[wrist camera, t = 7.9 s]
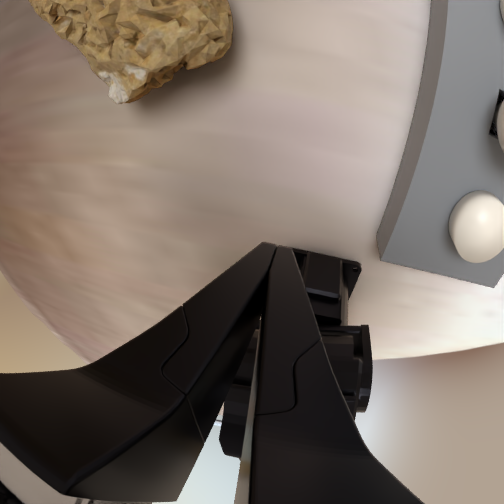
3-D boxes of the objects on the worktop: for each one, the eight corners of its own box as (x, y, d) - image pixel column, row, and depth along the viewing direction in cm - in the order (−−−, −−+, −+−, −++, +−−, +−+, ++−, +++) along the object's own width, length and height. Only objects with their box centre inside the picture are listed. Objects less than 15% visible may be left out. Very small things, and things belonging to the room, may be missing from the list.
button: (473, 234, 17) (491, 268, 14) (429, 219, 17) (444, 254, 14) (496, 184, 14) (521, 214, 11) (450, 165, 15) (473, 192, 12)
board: (484, 264, 19) (495, 288, 16) (376, 235, 20) (380, 260, 18) (555, 13, 3) (577, 15, 1) (431, -66, 5) (444, -80, 3)
